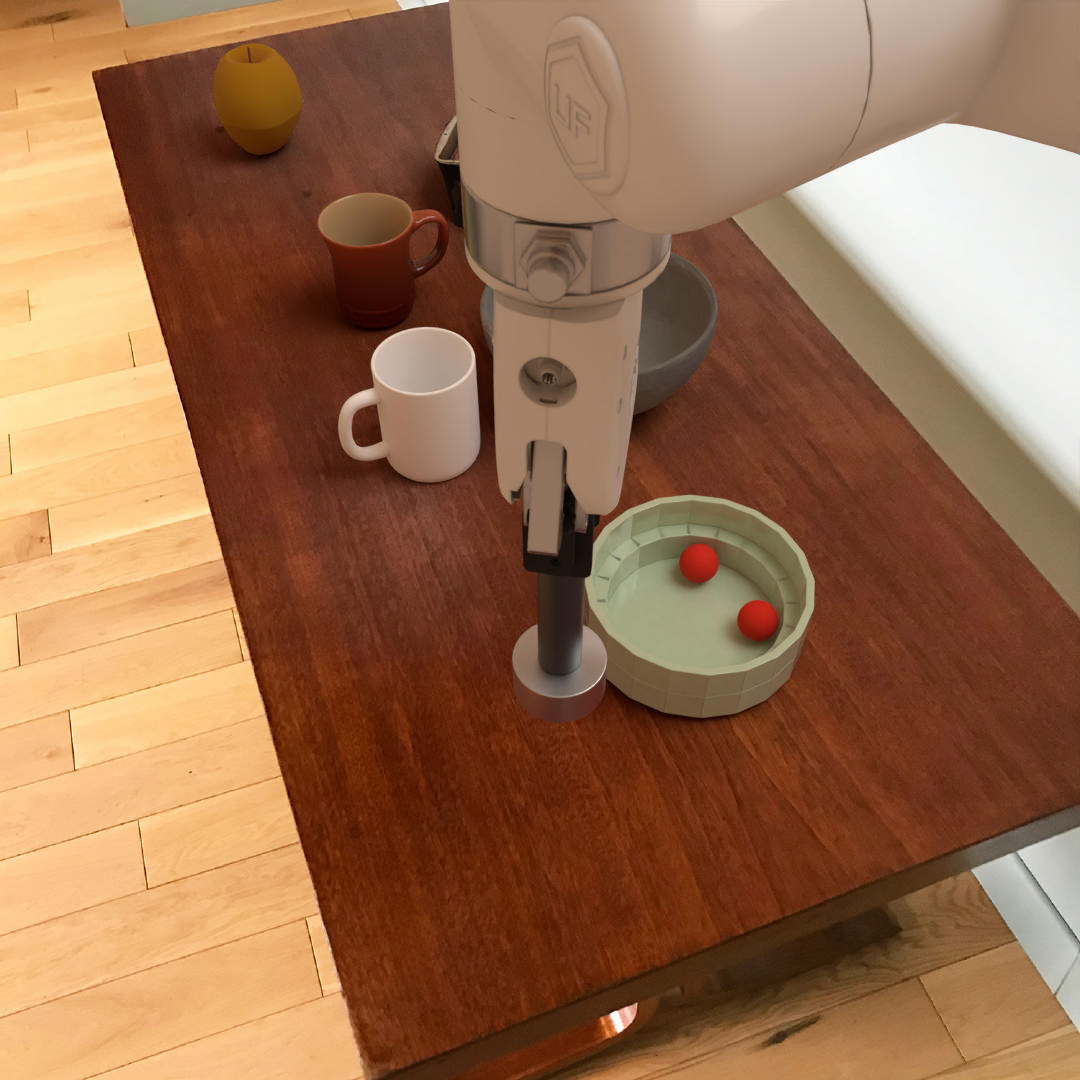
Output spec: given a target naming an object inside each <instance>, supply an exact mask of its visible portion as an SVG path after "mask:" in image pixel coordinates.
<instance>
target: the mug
mask: <svg viewBox="0 0 1080 1080" xmlns="http://www.w3.org/2000/svg"><path fill="white" fill-rule="evenodd" d="M316 222H317V223H316V227H317V231H318V233H319V235H320V236H321V238H322V240H323V242H324V243H325V245H326V247H327V249H328V252H329V255H330V259H331V263H332V273H333V274H332V275H333V280H334V286H335V287H334V288H335V295H336V299H337V301H338V306H339V308H340V309H341V313H342V314H343V316H344V317H345V318H346V319H347V320H348V321H349V322H350V323H352V324H354V325H356V326H359V327H362V328H366V329H384V328H385V329H386V328H388V327H392V326H394V325H396V324H398V323H400V322H402V321H403V320H405V319H406V318H407V317H408V316H409V315H410V313H411V312H412V310H413V308H414V305H415V303H414V301H415V298H416V297H415V293H416V285H415V280H416V279H417V278H420V277H422V276H424V275H426V274H427V273H428V272H430V271H431V270H432V269H433V268H435V267H436V266H437V265H438V264H440V262H441V261H442V260H443V259H444V257H445V255H446V252H447V249H448V246H449V241H450V228H449V224H448V222H447V219H446V217H445V216H444V215H443V213H441V212H440V211H439V210H436V209H429V208H428V209H421V210H414V211H413V209H412V207H411V206H410V205H409V203H407V202H406V201H405V200H403V199H401V198H399V197H397V196H395V195H391V194H387V193H382V192H359V193H353V194H349V195H346V196H343V197H342V196H341V197H340V198H337V199H335V200H333V201H332V202H330V203H329V204H328V205H326V206H325V207H324V208H322V210H321V212H320V213H319V215H318V217H317V221H316ZM430 223H436V224H437V237H436V238H437V239H436V243H435V245H434V247H433V249H432V250H431V251H430V252H429V253H428V254H427V255H425V256H423V257H420V258H416V259H411V253H410V245H411V244H410V243H411V237H412V236H413V234H415V232H417V231H418V230H419V229H420V228H421V227H423V226H424V225H427V224H430Z"/></svg>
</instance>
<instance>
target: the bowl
mask: <svg viewBox="0 0 1080 1080" xmlns="http://www.w3.org/2000/svg"><path fill="white" fill-rule="evenodd" d="M479 314H480V320H481V326H482V327H481V328H482V332H483V336H484V339H485V341H486V344H487V347H488V349H489V351H490V354H491V355H492V358H493V359H494V355H493V344H492V337H493V320H494V289H492V288H491V287H490V286H488V285H487V284H486V283H485V286H484V289H483V292H482V294H481V298H480V303H479ZM718 315H719V302H718V299H717V294H716V291H715V290H714V287H713V285H712V283H711V282H710V280H709V278H707V276H706V275H705V273H704V272H702V270H700V269H699V268H698V267H697V266H695V264H693V263H691V262H690V261H689V260H687V259H686V258H684V257H682V256H681V255H678V254H676V253H675V252H673V251H670V257H669V260H668V262H667V265H666V267H665V269H664V270H663V272H662V273H661V274H660V275H659V276H658V277H657V278H656V280H655V281H653V282H652V283H651V284H650V285H649V286H647V287H646V288H644V289H643V294H642V310H641V325H640V338H639V352H638V375H637V387H636V395H635V403H634V410H633V416H636V415H639V414H641V413H644V412H647V411H649V410H651V409H653V408H655V407H657V406H659V405H661V404H662V403H663V402H665V401H667V400H668V399H669V398H671V397H673V396H674V395H675V394H676V393H677V392H678V391H680V390H681V389H682V387H684V386H685V385H686V384H687V383H688V381H690V379H691V378H692V377H693V375H694V374H695V373H696V372H697V370H698V368H699V367H700V366H701V364H702V363H703V361H704V359H705V358H706V355H707V353H708V352H709V350H710V347H711V344H712V341H713V338H714V336H715V332H716V327H717V325H718Z"/></svg>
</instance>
